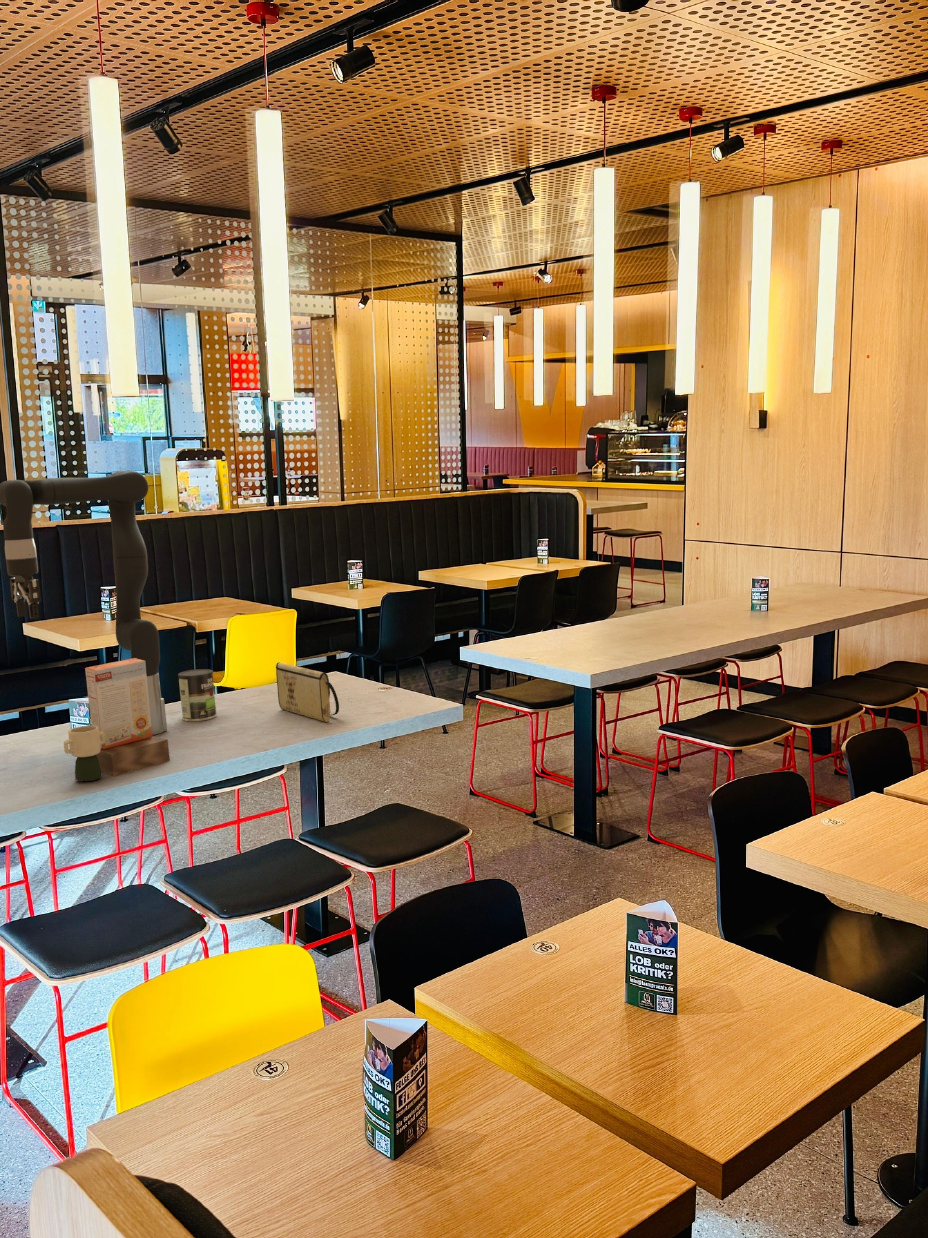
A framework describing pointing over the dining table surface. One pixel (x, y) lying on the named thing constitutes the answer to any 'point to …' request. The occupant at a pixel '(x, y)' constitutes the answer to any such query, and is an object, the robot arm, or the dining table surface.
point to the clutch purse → (304, 691)
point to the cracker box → (119, 701)
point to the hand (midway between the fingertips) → (28, 617)
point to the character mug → (85, 751)
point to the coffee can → (197, 695)
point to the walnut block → (133, 755)
